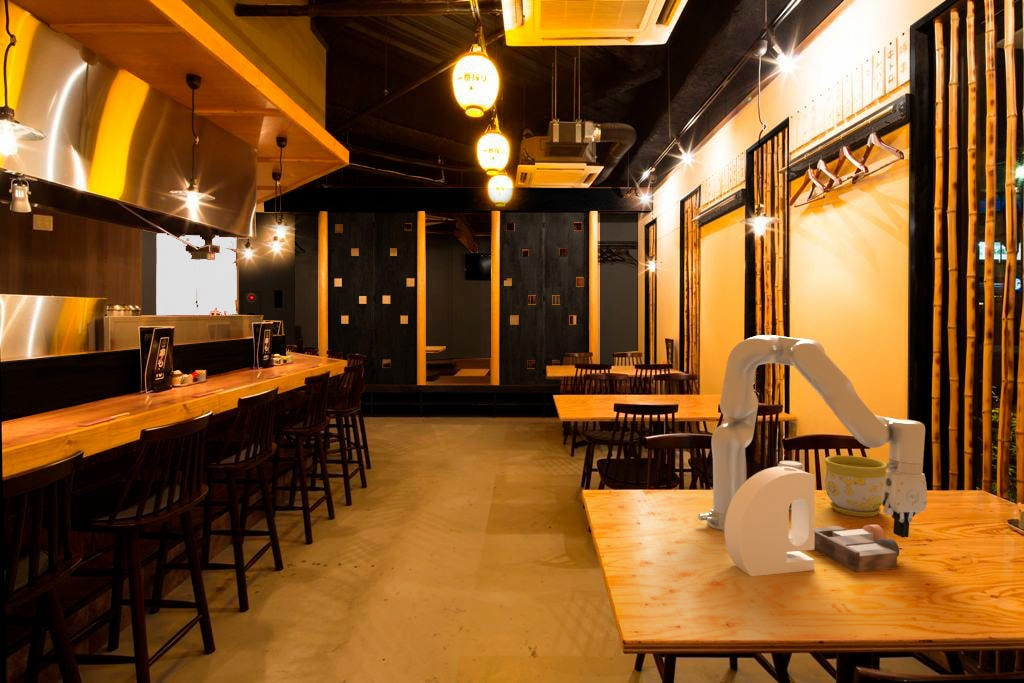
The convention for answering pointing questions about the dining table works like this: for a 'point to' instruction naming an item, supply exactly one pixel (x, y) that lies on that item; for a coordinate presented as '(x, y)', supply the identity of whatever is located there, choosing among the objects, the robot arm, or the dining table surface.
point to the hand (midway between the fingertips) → (900, 535)
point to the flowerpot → (855, 484)
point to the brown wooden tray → (852, 551)
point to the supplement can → (794, 465)
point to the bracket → (772, 522)
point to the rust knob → (864, 532)
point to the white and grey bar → (878, 546)
